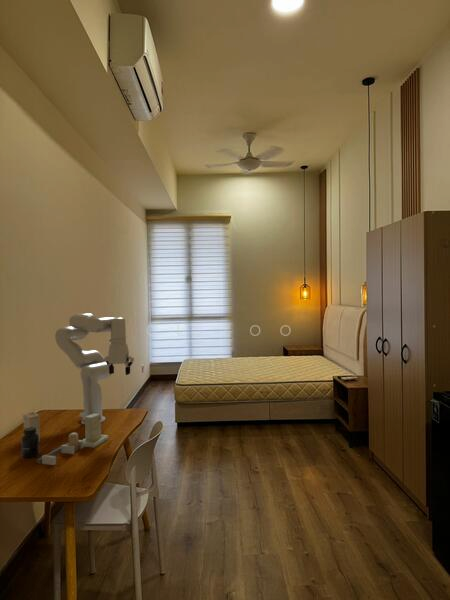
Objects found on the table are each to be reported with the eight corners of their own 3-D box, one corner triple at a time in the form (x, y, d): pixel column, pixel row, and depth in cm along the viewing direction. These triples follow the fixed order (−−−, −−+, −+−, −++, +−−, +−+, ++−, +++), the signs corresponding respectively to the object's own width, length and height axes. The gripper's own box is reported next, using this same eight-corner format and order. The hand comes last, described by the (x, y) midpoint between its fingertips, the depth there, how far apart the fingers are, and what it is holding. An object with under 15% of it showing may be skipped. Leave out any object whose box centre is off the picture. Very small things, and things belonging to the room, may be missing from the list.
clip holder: (37, 463, 157) (36, 455, 157) (68, 445, 175) (68, 438, 175) (53, 465, 155) (53, 457, 155) (83, 447, 173) (83, 440, 173)
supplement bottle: (21, 460, 161) (20, 432, 160) (21, 454, 167) (20, 427, 166) (39, 457, 164) (38, 429, 164) (39, 451, 170) (38, 425, 170)
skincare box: (92, 444, 175) (91, 417, 175) (85, 442, 177) (84, 416, 177) (102, 439, 181) (101, 413, 180) (95, 437, 182) (94, 412, 182)
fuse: (67, 451, 168) (66, 434, 168) (73, 448, 172) (72, 431, 172) (74, 452, 167) (73, 435, 167) (80, 449, 171) (79, 432, 171)
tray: (78, 445, 175) (78, 442, 175) (93, 437, 185) (93, 433, 185) (94, 447, 172) (94, 443, 172) (108, 439, 182) (108, 435, 182)
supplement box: (40, 441, 181) (39, 414, 181) (30, 445, 178) (29, 417, 178) (34, 437, 187) (33, 411, 187) (23, 440, 183) (22, 414, 183)
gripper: (100, 342, 196) (101, 375, 196) (129, 342, 190) (130, 376, 191) (108, 340, 203) (109, 372, 203) (136, 340, 198) (138, 373, 198)
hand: (119, 374), depth 197 cm, fingers open, 9 cm apart
